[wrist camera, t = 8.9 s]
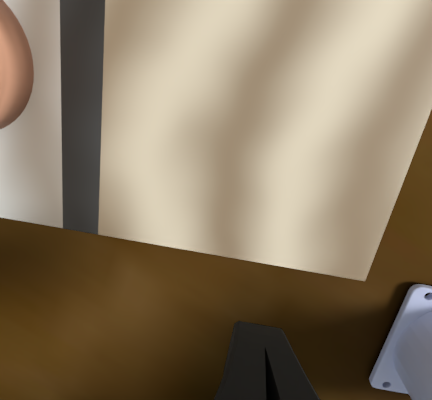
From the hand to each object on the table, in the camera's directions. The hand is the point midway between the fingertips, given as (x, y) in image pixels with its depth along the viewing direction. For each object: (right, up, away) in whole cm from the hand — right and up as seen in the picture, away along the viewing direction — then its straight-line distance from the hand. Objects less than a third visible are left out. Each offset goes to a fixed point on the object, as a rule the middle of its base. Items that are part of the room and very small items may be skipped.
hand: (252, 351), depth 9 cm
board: (-6, +10, +7) cm, 14 cm away
